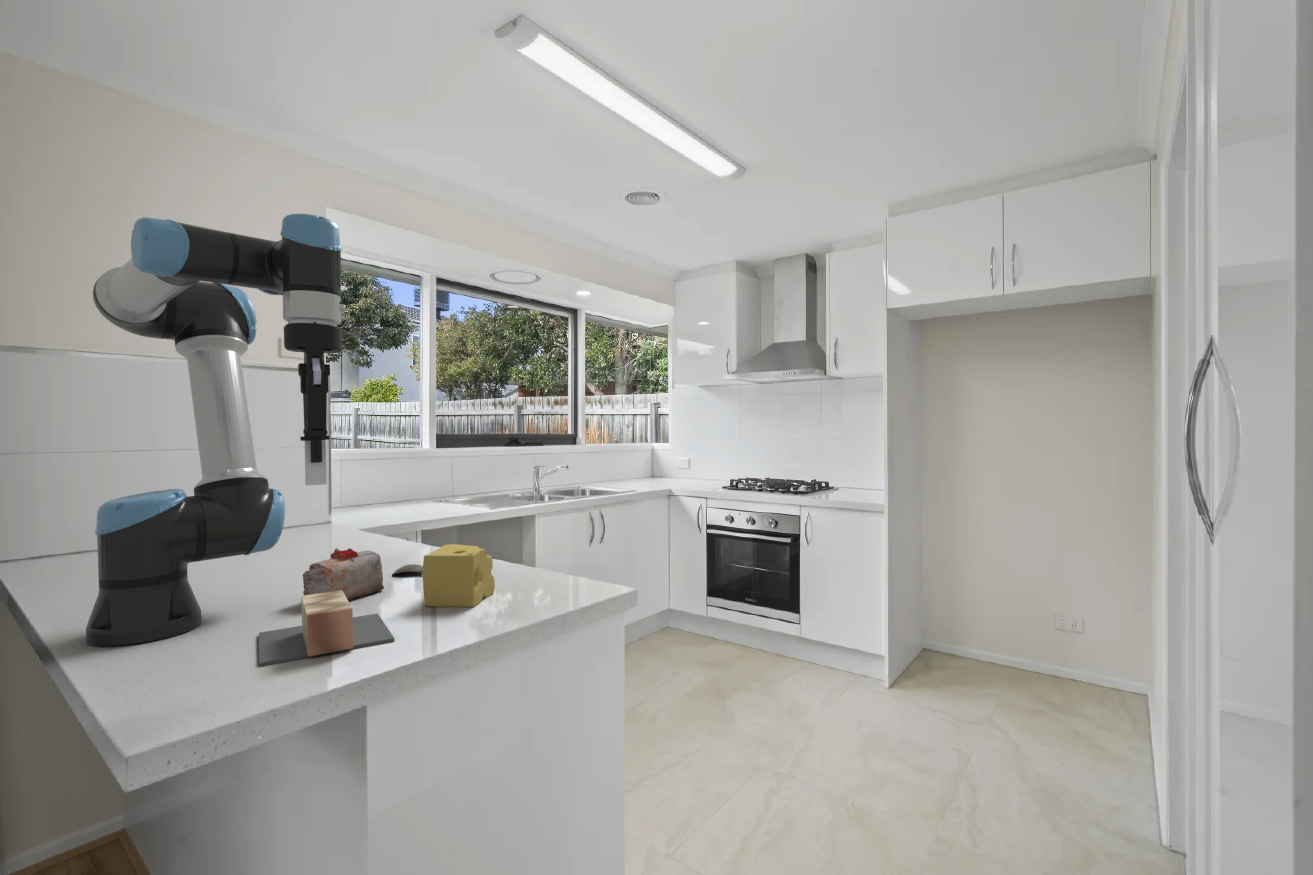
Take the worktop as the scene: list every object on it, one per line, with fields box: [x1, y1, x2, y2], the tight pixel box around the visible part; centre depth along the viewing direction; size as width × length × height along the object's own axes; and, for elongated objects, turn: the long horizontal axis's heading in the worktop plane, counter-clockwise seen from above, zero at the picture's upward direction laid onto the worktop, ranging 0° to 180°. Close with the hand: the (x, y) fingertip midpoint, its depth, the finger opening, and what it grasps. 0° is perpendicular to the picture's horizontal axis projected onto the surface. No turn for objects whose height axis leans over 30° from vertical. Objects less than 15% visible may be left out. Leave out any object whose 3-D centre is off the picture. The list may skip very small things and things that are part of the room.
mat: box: [258, 613, 395, 667], centre depth 101 cm, size 18×16×1 cm
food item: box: [302, 547, 385, 601], centre depth 126 cm, size 14×8×10 cm, turn 154°
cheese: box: [422, 543, 496, 608], centre depth 123 cm, size 10×11×10 cm
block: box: [301, 590, 354, 657], centre depth 99 cm, size 6×6×13 cm
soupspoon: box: [391, 563, 423, 576], centre depth 142 cm, size 22×3×7 cm
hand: (316, 484), depth 94 cm, fingers closed
